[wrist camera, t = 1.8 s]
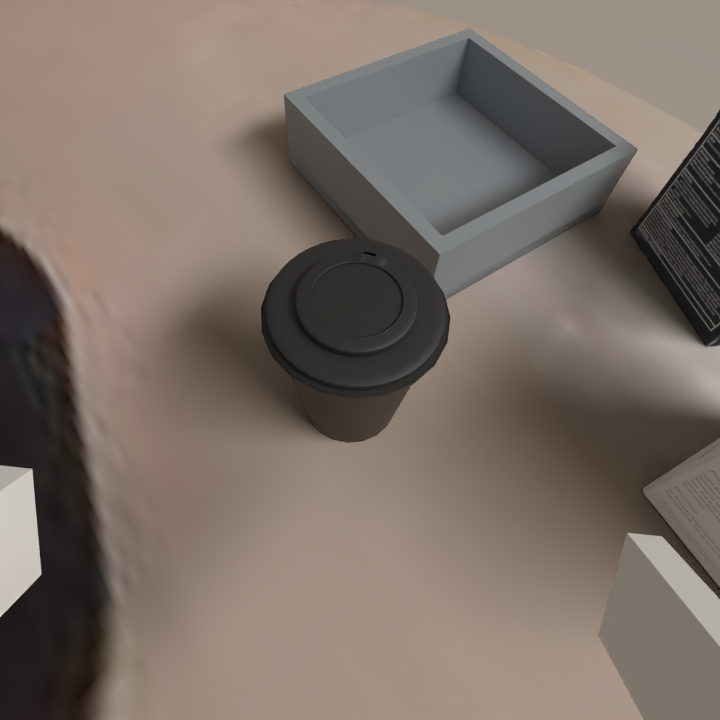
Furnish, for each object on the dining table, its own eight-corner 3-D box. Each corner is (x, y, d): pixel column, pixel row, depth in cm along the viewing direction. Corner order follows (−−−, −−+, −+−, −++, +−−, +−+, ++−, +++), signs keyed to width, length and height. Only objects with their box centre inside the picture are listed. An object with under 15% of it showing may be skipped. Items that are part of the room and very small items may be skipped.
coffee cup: (394, 327, 31) (417, 209, 22) (439, 445, 27) (488, 357, 19) (268, 355, 30) (240, 240, 21) (297, 483, 26) (278, 408, 17)
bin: (290, 161, 38) (283, 94, 34) (455, 94, 44) (470, 28, 39) (424, 311, 32) (440, 254, 27) (599, 212, 37) (637, 149, 32)
